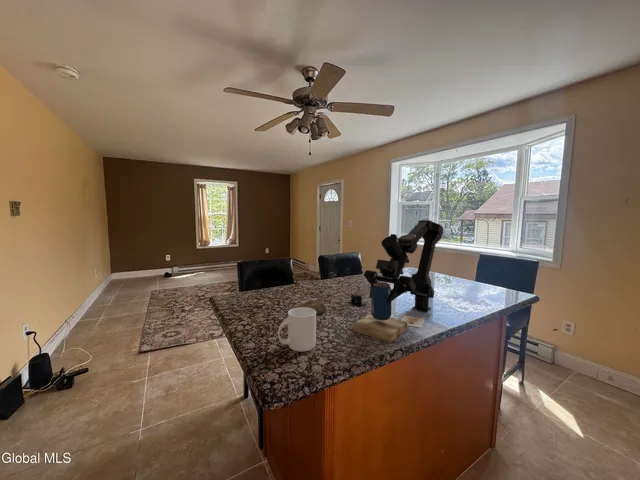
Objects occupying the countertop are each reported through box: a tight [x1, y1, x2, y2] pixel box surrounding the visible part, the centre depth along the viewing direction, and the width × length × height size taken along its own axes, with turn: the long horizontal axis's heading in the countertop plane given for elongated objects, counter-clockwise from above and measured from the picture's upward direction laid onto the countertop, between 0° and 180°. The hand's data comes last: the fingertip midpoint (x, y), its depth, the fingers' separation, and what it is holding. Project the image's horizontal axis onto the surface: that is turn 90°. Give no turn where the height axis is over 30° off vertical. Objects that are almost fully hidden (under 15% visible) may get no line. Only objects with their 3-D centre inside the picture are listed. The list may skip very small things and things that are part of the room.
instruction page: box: [400, 315, 426, 329], centre depth 100 cm, size 10×8×1 cm
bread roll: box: [295, 299, 327, 317], centre depth 111 cm, size 13×12×5 cm
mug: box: [277, 307, 317, 353], centre depth 79 cm, size 9×12×11 cm
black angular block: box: [346, 293, 367, 308], centre depth 122 cm, size 12×7×5 cm, turn 35°
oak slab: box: [352, 313, 408, 343], centre depth 92 cm, size 14×14×3 cm
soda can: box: [370, 282, 392, 321], centre depth 92 cm, size 7×7×12 cm
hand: (379, 300), depth 91 cm, fingers closed on soda can, 7 cm apart
